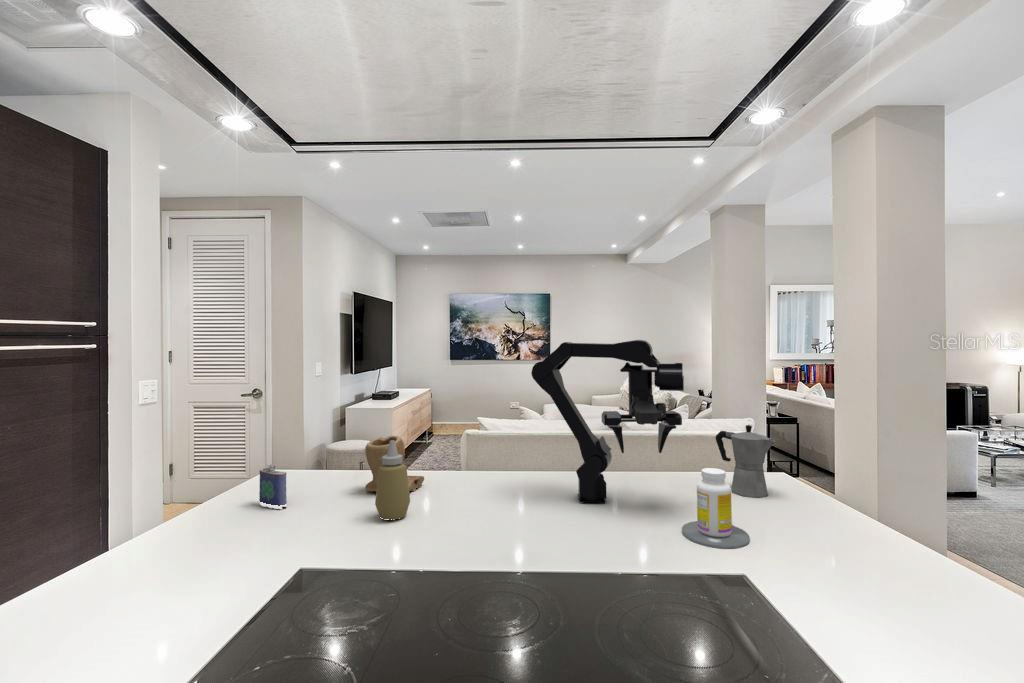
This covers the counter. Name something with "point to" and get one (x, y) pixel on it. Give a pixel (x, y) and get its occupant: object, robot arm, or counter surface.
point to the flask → (272, 486)
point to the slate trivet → (732, 541)
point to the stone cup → (374, 459)
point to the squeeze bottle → (392, 486)
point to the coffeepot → (747, 461)
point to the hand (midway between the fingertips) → (641, 452)
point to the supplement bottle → (714, 504)
